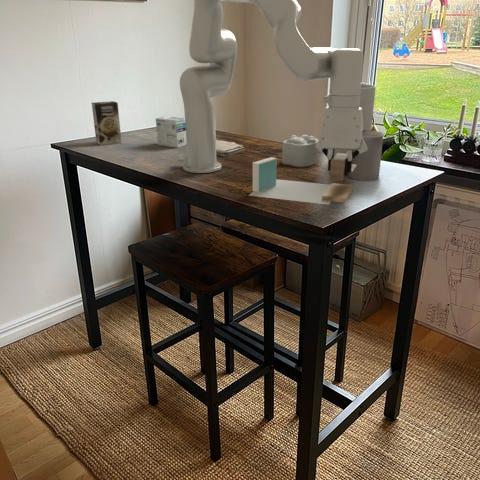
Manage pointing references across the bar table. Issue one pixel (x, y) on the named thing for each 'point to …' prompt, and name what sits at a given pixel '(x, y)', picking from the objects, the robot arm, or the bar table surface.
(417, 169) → the bar table surface
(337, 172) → the light wood block
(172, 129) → the light bulb box
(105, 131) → the coffee box
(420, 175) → the bar table surface
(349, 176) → the pillar candle
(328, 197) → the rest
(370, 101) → the cylinder vase
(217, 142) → the washcloth
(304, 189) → the mat
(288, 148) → the lumpy-topped squat cylinder
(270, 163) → the tile
